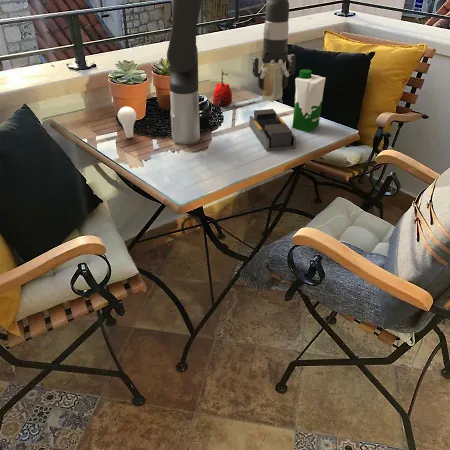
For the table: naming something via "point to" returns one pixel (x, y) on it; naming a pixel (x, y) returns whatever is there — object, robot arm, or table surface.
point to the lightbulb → (127, 120)
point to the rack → (272, 131)
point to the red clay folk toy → (222, 94)
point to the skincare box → (272, 82)
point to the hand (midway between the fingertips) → (272, 88)
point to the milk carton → (308, 101)
